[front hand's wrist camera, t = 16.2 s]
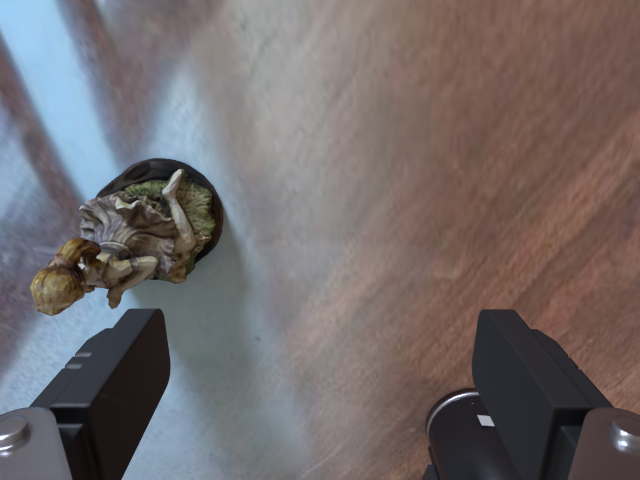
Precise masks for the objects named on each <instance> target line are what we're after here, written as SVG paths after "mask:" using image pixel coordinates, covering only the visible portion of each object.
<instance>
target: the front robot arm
mask: <svg viewBox="0 0 640 480" xmlns="http://www.w3.org/2000/svg"><path fill="white" fill-rule="evenodd" d="M472 376H473V381H474V385H475V387H476V388H468V389H462V390H459V391H455V392H453V393H451V394H449V395H447V396H445V397H443V398H442V399H441V400H439V401H438V402H437V403H436V404H435V405H434V406H433V408H432V409H431V411H430V412H429V414H428V416H427V419H426V424H425V430H426V435H427V439H428V442H429V445H430V446H429V448H428V451H429V455H430V458H431V461H432V465H428V467H427V469H426V471H425V473H424V475H423V480H640V415H638V414H636V413H633V412H630V411H627V410H624V409H619V408H614V407H613V406H612V404H611V403H610V402H609V401H608V400H607V399H606V398H605V397H604V395H603V394H602V393H601V392H600V391H599V390H598V389H597V387H596V386H595V385H594V384H593V383H592V382H591V381H590V380H589V378H588V377H587V376H586V375H585V374H584V373H583V372H582V370H579V369H578V366H577V365H576V364H575V362H574V361H573V360H572V359H571V358H568V355H567V353H566V352H565V351H564V350H563V349H562V348H561V347H560V345H559V344H558V343H557V342H556V341H555V340H553V339H552V338H550V337H548V336H547V335H545V334H544V333H542V332H540V331H539V330H537V329H530V328H529V327H528V326H527V324H526V323H525V322H524V321H523V319H522V318H521V317H520V316H519V315H518V313H517V312H516V311H515V310H512V309H483V310H481V312H480V314H479V317H478V323H477V330H476V337H475V344H474V351H473V358H472ZM169 377H170V355H169V348H168V341H167V334H166V327H165V319H164V315H163V312H162V310H161V309H128V310H127V311H126V312H125V313H124V315H123V316H122V317H121V318H120V320H119V321H118V322H117V323H116V325H115V326H114V327H113V328H106V329H104V330H103V331H101V332H99V333H98V334H96V335H95V336H93V337H91V338H90V339H88V340H87V341H86V342H85V343H84V344H83V346H82V347H81V348H80V349H79V350H78V351H77V352H76V354H75V357H72V358H71V359H70V360H69V362H68V363H67V364H66V365H65V369H62V370H61V371H60V372H59V373H58V374H57V375H56V377H55V378H54V379H53V380H52V381H51V382H50V383H49V385H48V386H47V387H46V388H45V389H44V390H43V391H42V393H41V394H40V395H39V396H38V397H37V398H36V399H35V401H34V402H33V403H32V404H31V405H30V406H29V407H27V408H21V409H16V410H13V411H10V412H7V413H4V414H2V415H0V480H121V479H122V477H123V475H124V473H125V471H126V469H127V467H128V465H129V463H130V461H131V459H132V457H133V455H134V453H135V451H136V449H137V446H138V444H139V442H140V440H141V438H142V436H143V434H144V432H145V430H146V428H147V426H148V424H149V422H150V420H151V418H152V416H153V414H154V412H155V410H156V408H157V406H158V404H159V401H160V399H161V397H162V395H163V393H164V391H165V389H166V387H167V385H168V381H169Z"/></svg>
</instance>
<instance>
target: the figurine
mask: <svg viewBox="0 0 640 480" xmlns="http://www.w3.org/2000/svg"><path fill="white" fill-rule="evenodd" d="M79 210H81V211H82V213H81V215H80V216H81V217H83V220H82V222H81V224H80V228H81V236H80V237H78V238H73V239H70V240H69V241H68V242H67V243H66V245H64V246H62V247H60V249H59V250H58V251H57V252H56V255H55V257H54V258H53V259H52V260H51V261H50V262H49V263H48V266H47V268H45V269H42V270H40V271H39V273H38V274H37V275H36V276H35V278H34V279H33V281H32V284H31V287H30V290H31V293H32V296H33V300H34V302H35V309H36V310H37V311H39V312H42V313H45V314H47V315H50V316H53V315H56V314H59V313H61V312H62V311H63V310H65V309H66V308H68V307H70V306H71V305H72V304H73V303H74V302H76V301H78V300H79V299H81V298H83V297H84V295H85V293H90V292H92V291H94V290H95V287H97V288H105V289H109V290H108V293H107V296H106V297H107V298H108V299H109V303H108V305H109V306H110V308H111V309H114V308H116V307H117V306H118V304H120V301H121V296H122V294H123V293H124V291H125V290H127V289H129V288H131V287H133V286H135V285H136V284H138V283H139V282H141V281H143V280H146V279H153V280H158V279H160V280H165V281H169V282H173V283H175V284H178V283H181V282H183V281H185V280H186V275H188V274H189V273H191V272H192V270H193V269H194V268H195V263H197V262H198V261H199V260H200V259H202V258H203V257H204V256H206V255H207V254H208V253H209V252H210V251H211V250H212V249H213V248H214V247H215V246H216V244H217V242H218V240H219V238H220V235H221V232H222V223H223V211H222V206H221V202H220V199H219V197H218V194H217V192H216V190H215V188H214V186H213V185H212V184H211V183H210V182H209V181H208V180H207V179H206V177H205V176H204V175H202V174H201V173H199V172H198V171H196V170H195V169H194V168H192V167H191V166H189V165H187V164H185V163H183V162H179V161H175V160H172V159H160V158H154V159H148V160H144V161H141V162H138V163H136V164H133V165H131V166H130V167H129V168H127V169H126V170H125V171H124V172H123V173H122V174H121V175H119V176H118V177H117V178H115V179H114V180H113V181H111V182H110V183H109V184H108V185H107V186H105V187H104V188H103V189H102V190H101V191H100V192H99V193H98V194H97V196H96V198H94V199H92V200H89V201H86V203H85V205H84V206H81V207H80V209H79Z"/></svg>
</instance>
